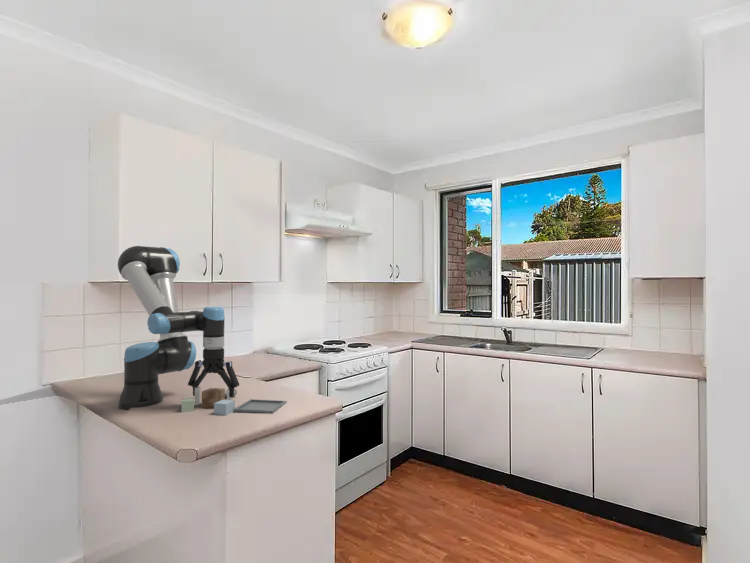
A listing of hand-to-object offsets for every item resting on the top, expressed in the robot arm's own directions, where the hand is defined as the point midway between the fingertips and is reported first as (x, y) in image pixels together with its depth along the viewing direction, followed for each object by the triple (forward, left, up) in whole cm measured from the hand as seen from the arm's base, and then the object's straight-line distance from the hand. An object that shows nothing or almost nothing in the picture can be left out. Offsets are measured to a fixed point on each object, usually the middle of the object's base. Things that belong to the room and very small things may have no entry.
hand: (213, 405), depth 165 cm
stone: (+1, +11, 0) cm, 11 cm away
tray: (+19, 0, 0) cm, 19 cm away
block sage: (-6, -7, 0) cm, 9 cm away
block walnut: (0, 0, 0) cm, 0 cm away
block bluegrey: (+8, -8, 0) cm, 11 cm away
